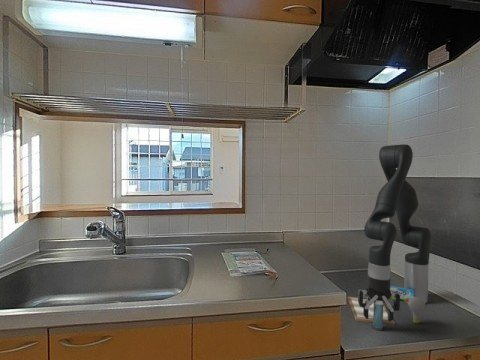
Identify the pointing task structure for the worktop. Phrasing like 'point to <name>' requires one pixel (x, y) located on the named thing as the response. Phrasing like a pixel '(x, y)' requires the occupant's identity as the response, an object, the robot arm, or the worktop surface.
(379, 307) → the bottle
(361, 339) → the worktop surface
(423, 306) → the light bulb
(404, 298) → the yogurt
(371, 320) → the clipboard
